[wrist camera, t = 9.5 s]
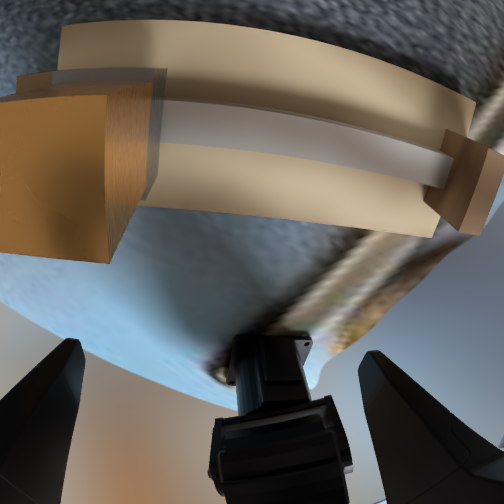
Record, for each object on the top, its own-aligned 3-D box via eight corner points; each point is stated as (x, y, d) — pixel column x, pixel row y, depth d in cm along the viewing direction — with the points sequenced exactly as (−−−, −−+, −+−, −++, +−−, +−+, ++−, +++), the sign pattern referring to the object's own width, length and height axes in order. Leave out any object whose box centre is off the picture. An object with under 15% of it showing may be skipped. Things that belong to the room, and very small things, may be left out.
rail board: (421, 227, 21) (462, 270, 17) (68, 191, 17) (28, 235, 13) (462, 98, 16) (519, 117, 12) (73, 27, 12) (22, 20, 8)
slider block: (157, 175, 14) (111, 280, 8) (79, 171, 14) (-10, 265, 7) (167, 68, 12) (108, 71, 5) (82, 68, 11) (-34, 88, 4)
